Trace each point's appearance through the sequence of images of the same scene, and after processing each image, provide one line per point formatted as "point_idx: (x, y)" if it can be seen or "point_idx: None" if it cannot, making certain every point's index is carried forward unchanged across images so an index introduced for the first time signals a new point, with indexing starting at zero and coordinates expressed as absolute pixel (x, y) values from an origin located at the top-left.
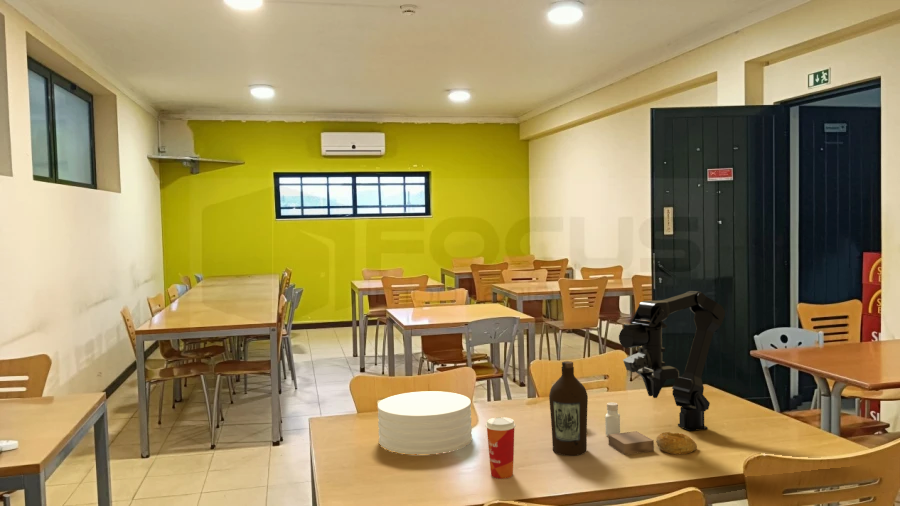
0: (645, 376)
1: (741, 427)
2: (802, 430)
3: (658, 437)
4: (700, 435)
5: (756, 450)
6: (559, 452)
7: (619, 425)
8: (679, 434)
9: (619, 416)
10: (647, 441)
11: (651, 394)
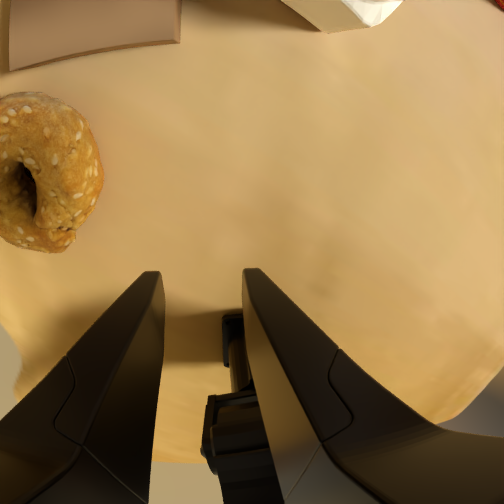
0: (340, 501)
1: None
2: (161, 454)
3: (18, 104)
4: (173, 322)
5: (33, 358)
6: None
7: (307, 2)
8: (41, 221)
9: (335, 1)
10: (10, 38)
11: (244, 300)
